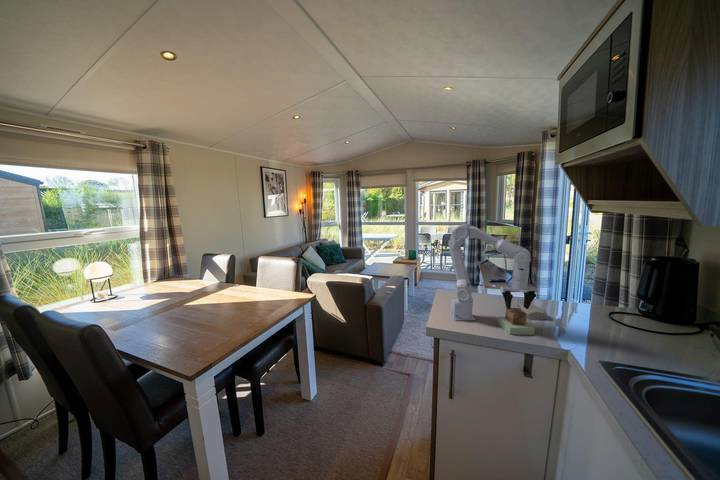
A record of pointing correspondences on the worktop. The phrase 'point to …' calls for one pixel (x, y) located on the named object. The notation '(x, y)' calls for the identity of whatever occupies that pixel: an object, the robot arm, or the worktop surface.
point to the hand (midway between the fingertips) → (517, 308)
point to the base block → (516, 327)
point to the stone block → (533, 312)
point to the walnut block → (516, 316)
